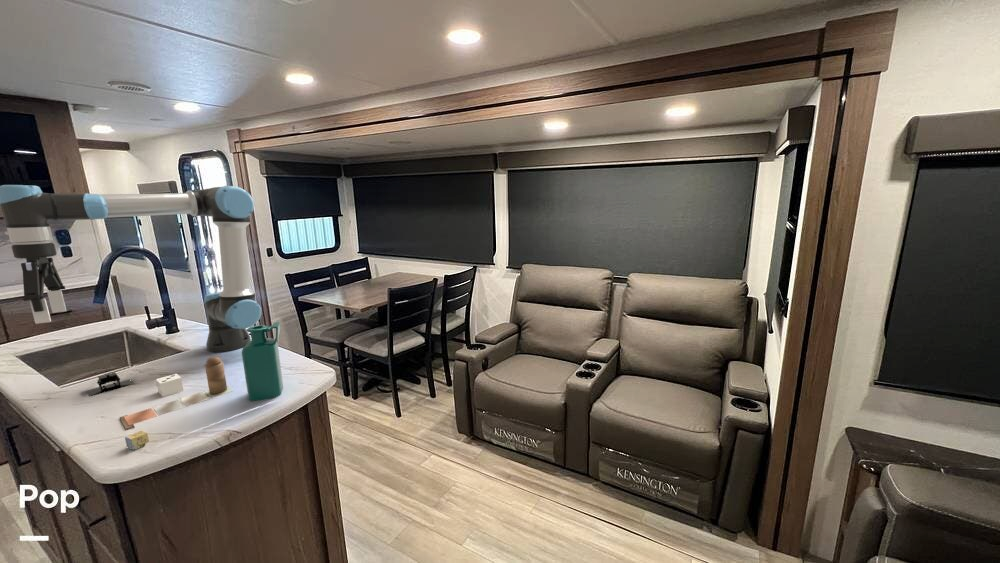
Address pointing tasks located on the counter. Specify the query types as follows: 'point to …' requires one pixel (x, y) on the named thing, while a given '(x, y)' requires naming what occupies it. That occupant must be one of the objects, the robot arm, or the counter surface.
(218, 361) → the wooden domed cylinder
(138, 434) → the alphabet block
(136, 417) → the game board
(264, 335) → the green plastic tall bottle
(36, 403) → the counter surface
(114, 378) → the black piece
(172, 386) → the die
